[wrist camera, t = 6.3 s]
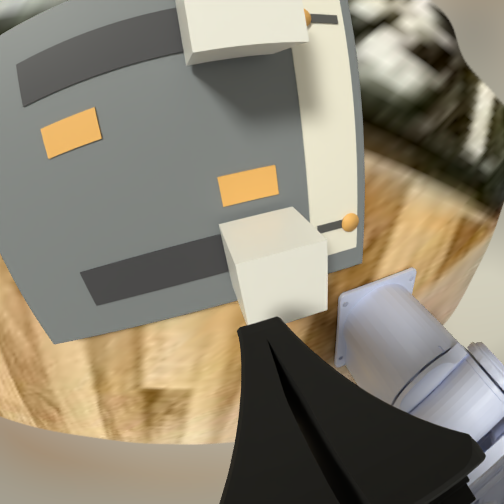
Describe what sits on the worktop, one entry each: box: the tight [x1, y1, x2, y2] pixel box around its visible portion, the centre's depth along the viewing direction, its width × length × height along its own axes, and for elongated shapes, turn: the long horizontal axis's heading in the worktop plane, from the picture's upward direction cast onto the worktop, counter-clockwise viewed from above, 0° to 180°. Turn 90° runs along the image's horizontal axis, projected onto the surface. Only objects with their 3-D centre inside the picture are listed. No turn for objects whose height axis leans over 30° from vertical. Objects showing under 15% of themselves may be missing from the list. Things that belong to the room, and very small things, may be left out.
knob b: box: [175, 0, 309, 66], centre depth 9 cm, size 4×4×4 cm
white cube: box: [219, 206, 328, 325], centre depth 15 cm, size 4×4×4 cm
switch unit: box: [0, 0, 365, 344], centre depth 14 cm, size 19×22×2 cm
